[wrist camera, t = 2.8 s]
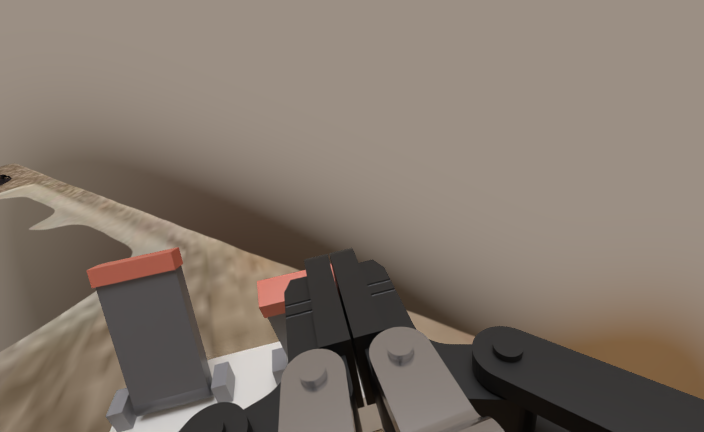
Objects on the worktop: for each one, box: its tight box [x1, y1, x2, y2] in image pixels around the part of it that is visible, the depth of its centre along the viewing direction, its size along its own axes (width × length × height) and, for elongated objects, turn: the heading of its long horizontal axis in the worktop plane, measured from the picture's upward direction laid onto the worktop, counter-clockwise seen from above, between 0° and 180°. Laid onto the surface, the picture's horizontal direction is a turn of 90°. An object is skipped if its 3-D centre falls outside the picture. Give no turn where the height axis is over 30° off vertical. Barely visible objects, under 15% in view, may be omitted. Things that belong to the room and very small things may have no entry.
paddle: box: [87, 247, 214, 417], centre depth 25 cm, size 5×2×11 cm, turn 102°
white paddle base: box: [106, 341, 382, 432], centre depth 27 cm, size 20×7×6 cm, turn 102°
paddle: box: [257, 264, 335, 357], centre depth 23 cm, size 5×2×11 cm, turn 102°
